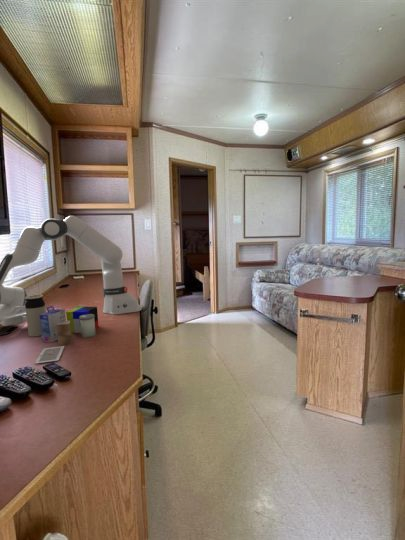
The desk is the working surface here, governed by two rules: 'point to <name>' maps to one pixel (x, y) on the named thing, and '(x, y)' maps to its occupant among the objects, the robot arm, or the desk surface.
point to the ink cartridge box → (51, 323)
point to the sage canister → (87, 325)
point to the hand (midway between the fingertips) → (32, 318)
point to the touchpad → (50, 354)
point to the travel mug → (34, 314)
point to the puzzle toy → (76, 313)
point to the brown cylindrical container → (64, 333)
